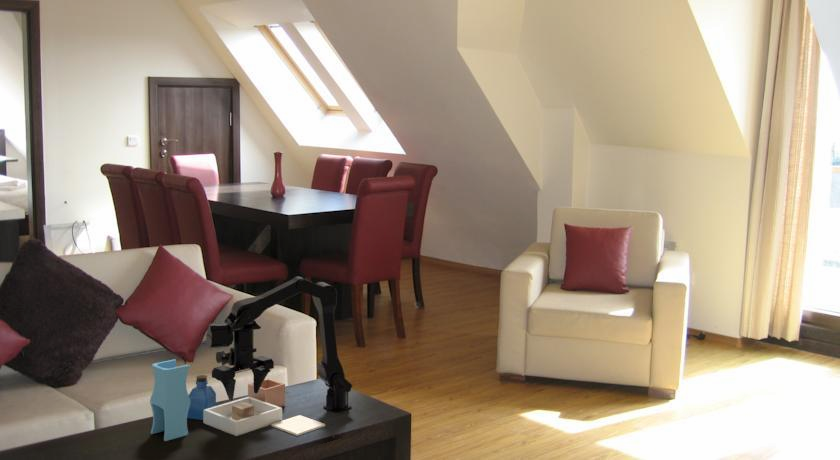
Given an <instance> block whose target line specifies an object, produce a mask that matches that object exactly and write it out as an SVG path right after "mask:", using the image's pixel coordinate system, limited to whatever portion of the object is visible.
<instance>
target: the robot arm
mask: <svg viewBox="0 0 840 460" xmlns="http://www.w3.org/2000/svg"><path fill="white" fill-rule="evenodd" d="M300 293H305V294H308V295H310V296H311V297H312V301H313V303H314V306H315V308H316V310H317V314H318V322H319V329H320V330H319V331H320V340H321V349H322V350H321V351H322V352H321V353H322V359H321V362H316V366H317V373H316V374H317V376H318V377H320V378H319V379H320V380H321V381H322V382H324V384H325V387H328V389H327V391H326V395H325V396H326V400H325V405H323V406H322V407H323V409H326V410H329V411H332V412H335V413H340V412H342V411H343V412H344V411H346V410H348V409H352V405H350V404H349V393H350V392H351V391H352V388H353V384H351V382H349V380H347V379H346V375H345V371H344V368H343V366H342V363H341V361H340V359H339V356H338V346H337V345H338V344H337V343H338V342H337V334H336V326H335V325H336V324H335V315H334V314H335V309H336V307H337V299H338V292H337V289H336V287H334V286H333V285H330V284H328V283H326V282H324V281H319V282H315V281H311V280H308V279H306V278H305V277H304V278H303V277H301V276H295V277H294V278H292V279H290V280H288V281H286V282H284V283H282V284H280V285H278V286H276V287H274V288H272V289H271V290H270V289H269V290H267V291H266V292H264V293H262V294H260V295H257V296H253V297H251V296H250V297H247V298H244V299H240V300H237V301H236V302H234V303H233V304H232V307H231V309H230V310H231V311H230V312H229V314H228V315H227V316H226V318H225V320H224V321H223V323H217V324H216V323H209V324H208V328H207V330H206V334H205V341H206V346H207V348H208V349H217V348H219V349H220V348H226V347H230V346H231V345H232V344H233V347H232V346H231V347H230V349H229V352H226V351H224V350H220V351H217V352H215V360H216V363H217V364H220V363H221V365H220V366H216V367H214V368H212V370H211V378H213V379H216V380H217V381H220V382H221V384H222V386H223V388H224V390H225V393H226V396H227V399H228V400H229V401H230V402H232V401H234V396H235V395H234V394H235V391H236V390H235V388H236V381H237V380H236V379H235V377H236V374H238V373H243V372H246V371H249V370H250V371H251V373H252V375H253V383H254V393H258V391H259V389H260V387H261V385H262V383H263V381H264V379H265V378H266V377H267V376H268V374H269V373H271V370H272V369H274V368H275V361H274V360H273V359H272V358H271V357H268V356H264V355H261V356H259V355H258V356H255V357H254V353H257V347H254V341H255V340H254V338H255V337H254V335H255V334H254V332H255V330H261V329H262V326H261V325H259V324H258V323H257V322H256V319H258V318H259V317H261V316H262V314H263V313H264V312H266V310H268V309H270V308H272V307H274V306H276V305H278V304H280V303H283V301H286V300H287V299H290V298H292V297H294V296H296V295H297V294H300ZM226 364H228V366H226ZM230 366H231V367H230Z"/></svg>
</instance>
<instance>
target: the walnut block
mask: <svg viewBox="0 0 840 460" xmlns="http://www.w3.org/2000/svg"><path fill="white" fill-rule="evenodd" d="M250 416H254V405H251V404H248V403H246V402H243V403H239V404H236V405H232V419H234V420H236V421H238V420H241V419H244V418H247V417H250Z"/></svg>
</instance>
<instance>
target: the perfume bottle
mask: <svg viewBox="0 0 840 460" xmlns="http://www.w3.org/2000/svg"><path fill="white" fill-rule="evenodd" d="M195 378H196V380H195V387H193V388H192V389H191V390H190V393H189V394H188V395H189V398H190V407H189V410H188V415H187V419H194V420H203V410H204V409H208V408H211V407H215V406H217V393H216V392H215V390H214V388H213V387H212V386H211V385H208V384H209V380H208V375H207V374H206V375H204V374H203V375H202V374H200V375H197V376H195Z"/></svg>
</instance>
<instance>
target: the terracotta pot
mask: <svg viewBox="0 0 840 460" xmlns="http://www.w3.org/2000/svg"><path fill="white" fill-rule="evenodd" d="M249 396H250V397H253V398H255V399H258V400H261V401H264V402H267V403H270V404H272V405H275V406H278V407H281V408H283V407H286V383H283V382H280V381H277V380H273V379H271V378H266V379H264V381H263V383H262V385H261V387H260V389H259V391H258V393H254V382H251V383H248V384H247V397H249Z"/></svg>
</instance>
